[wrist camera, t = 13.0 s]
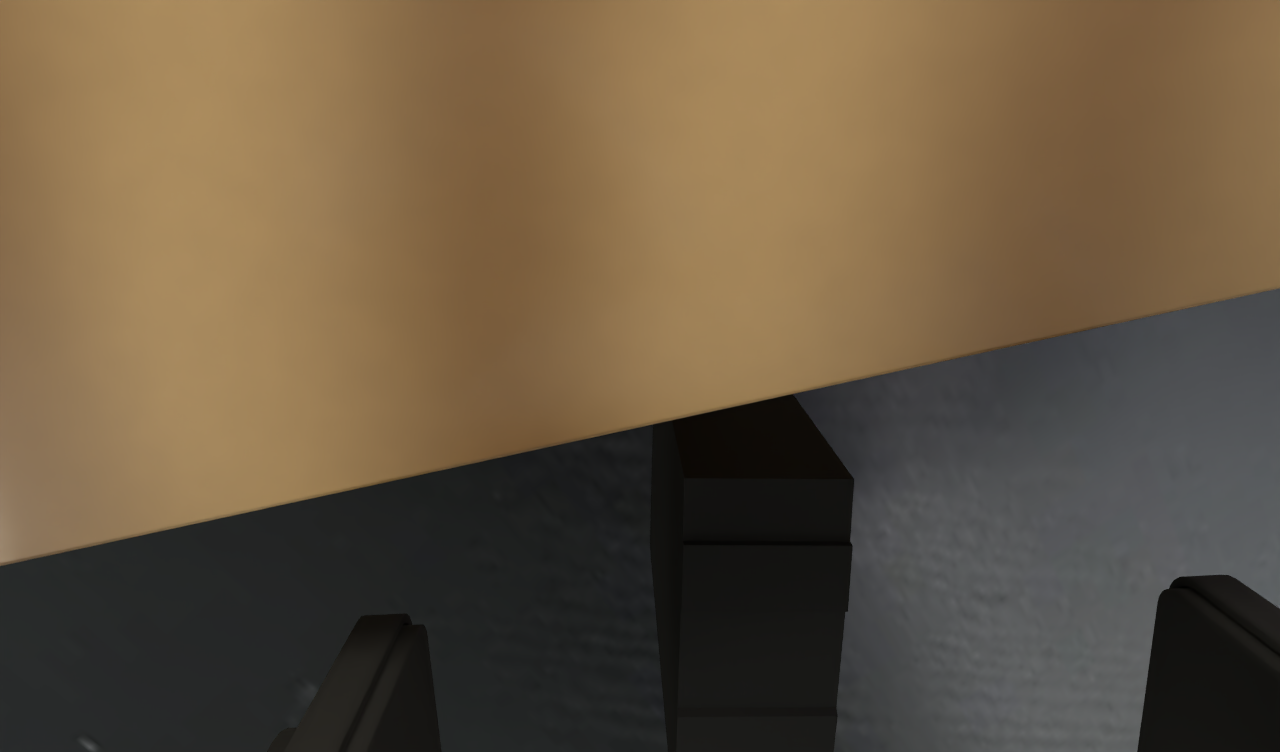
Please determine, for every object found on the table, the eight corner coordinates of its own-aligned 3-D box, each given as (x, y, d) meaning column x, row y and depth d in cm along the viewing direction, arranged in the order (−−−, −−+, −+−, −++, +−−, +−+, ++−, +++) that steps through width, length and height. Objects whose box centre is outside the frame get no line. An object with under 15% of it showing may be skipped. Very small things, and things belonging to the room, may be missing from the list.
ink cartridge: (746, 548, 19) (835, 817, 12) (648, 547, 19) (671, 817, 11) (760, 340, 18) (871, 487, 10) (654, 338, 18) (686, 485, 10)
